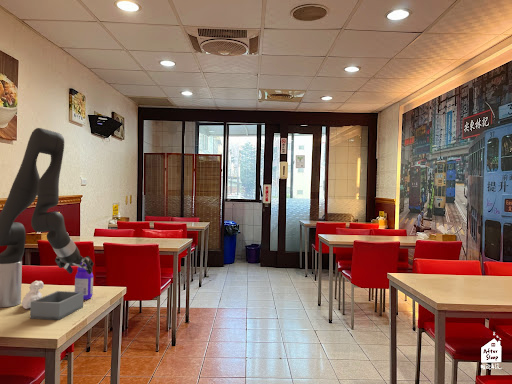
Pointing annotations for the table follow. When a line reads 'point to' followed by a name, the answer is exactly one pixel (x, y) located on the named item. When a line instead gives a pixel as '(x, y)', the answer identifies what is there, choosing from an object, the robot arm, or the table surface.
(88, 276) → the bottle
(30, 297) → the bust
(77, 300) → the tote
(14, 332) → the table surface
